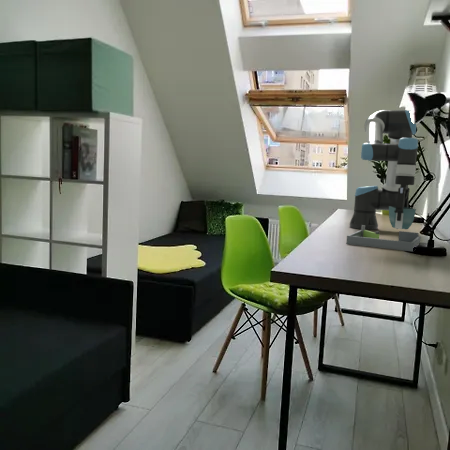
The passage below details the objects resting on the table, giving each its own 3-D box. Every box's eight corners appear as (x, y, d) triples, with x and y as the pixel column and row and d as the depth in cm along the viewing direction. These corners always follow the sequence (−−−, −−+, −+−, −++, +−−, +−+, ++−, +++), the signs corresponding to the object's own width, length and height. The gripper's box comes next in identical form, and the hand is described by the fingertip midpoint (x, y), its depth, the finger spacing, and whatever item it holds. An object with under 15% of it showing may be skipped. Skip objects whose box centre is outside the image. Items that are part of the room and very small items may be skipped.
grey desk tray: (359, 237, 223) (360, 224, 222) (420, 244, 210) (421, 230, 210) (346, 243, 202) (347, 229, 201) (412, 251, 189) (414, 236, 188)
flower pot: (414, 230, 197) (416, 208, 196) (393, 229, 197) (395, 207, 196) (407, 227, 206) (408, 207, 205) (386, 226, 206) (388, 206, 205)
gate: (365, 237, 220) (366, 228, 220) (379, 242, 208) (380, 231, 207) (362, 237, 220) (363, 227, 219) (375, 242, 208) (376, 231, 207)
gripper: (400, 175, 211) (395, 224, 213) (391, 174, 190) (386, 229, 193) (418, 176, 207) (413, 226, 210) (411, 175, 187) (405, 230, 190)
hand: (400, 227), depth 201 cm, fingers closed on flower pot, 11 cm apart
